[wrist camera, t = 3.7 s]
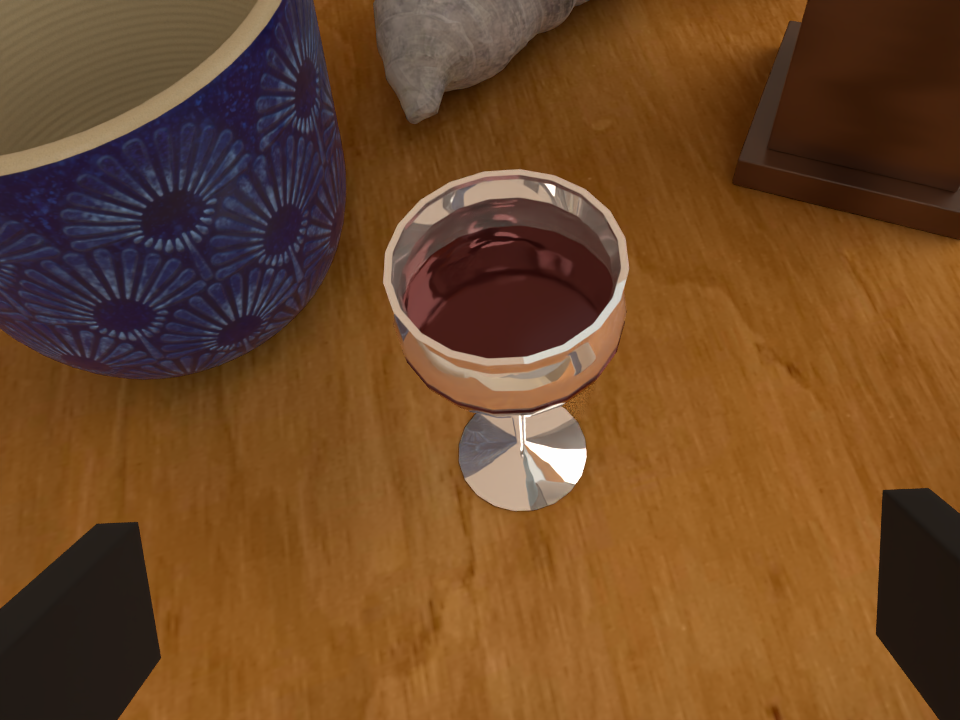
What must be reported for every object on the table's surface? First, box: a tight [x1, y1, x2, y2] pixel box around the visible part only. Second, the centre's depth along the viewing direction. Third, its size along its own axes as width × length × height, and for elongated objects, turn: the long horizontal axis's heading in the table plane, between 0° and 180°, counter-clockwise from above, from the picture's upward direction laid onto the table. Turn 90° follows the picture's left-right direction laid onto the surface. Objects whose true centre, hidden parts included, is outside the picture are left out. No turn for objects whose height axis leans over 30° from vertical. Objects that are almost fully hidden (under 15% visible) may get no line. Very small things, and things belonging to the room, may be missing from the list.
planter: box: [0, 0, 346, 379], centre depth 33 cm, size 17×17×15 cm
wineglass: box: [383, 169, 629, 511], centre depth 28 cm, size 7×7×12 cm
